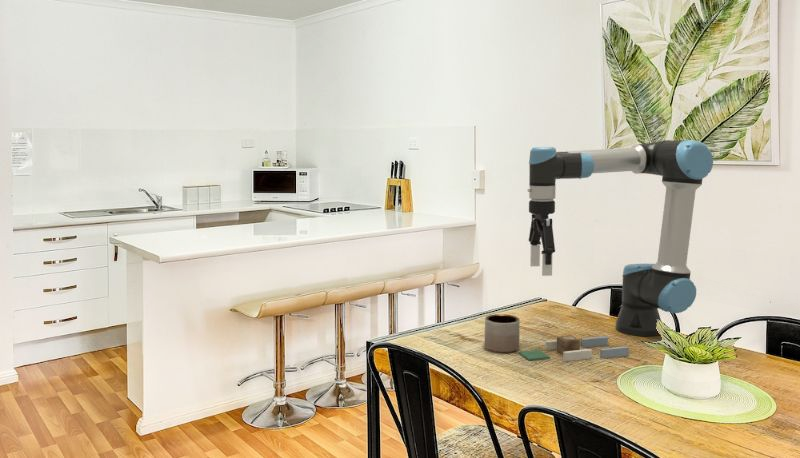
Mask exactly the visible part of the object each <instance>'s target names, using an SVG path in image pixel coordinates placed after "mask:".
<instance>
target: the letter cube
mask: <svg viewBox="0 0 800 458" xmlns="http://www.w3.org/2000/svg"><path fill="white" fill-rule="evenodd" d="M556 340H557V349H556V353H557V354H559V355H560V356H562V357H563V352H565V351H575V350H581V339H579V338H577V337H576V336H573V335H572V334H570V335H561V336H557V337H556Z"/></svg>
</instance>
